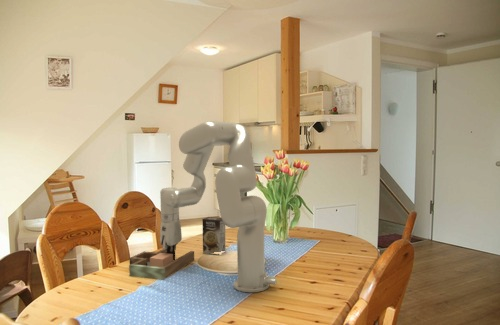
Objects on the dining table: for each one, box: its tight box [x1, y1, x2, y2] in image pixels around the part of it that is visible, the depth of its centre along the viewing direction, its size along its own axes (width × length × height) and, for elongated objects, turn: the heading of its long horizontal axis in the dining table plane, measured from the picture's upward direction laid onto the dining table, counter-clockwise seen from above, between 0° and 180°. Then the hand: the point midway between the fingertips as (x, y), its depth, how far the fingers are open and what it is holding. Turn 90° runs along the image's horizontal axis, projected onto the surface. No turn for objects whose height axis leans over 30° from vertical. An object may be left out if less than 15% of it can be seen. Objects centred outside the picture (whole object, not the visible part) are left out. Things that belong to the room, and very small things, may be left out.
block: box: [150, 253, 173, 267], centre depth 151 cm, size 6×8×5 cm
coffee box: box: [202, 216, 227, 255], centre depth 171 cm, size 9×6×16 cm
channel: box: [128, 248, 195, 280], centre depth 152 cm, size 21×24×4 cm
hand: (171, 260), depth 156 cm, fingers closed
